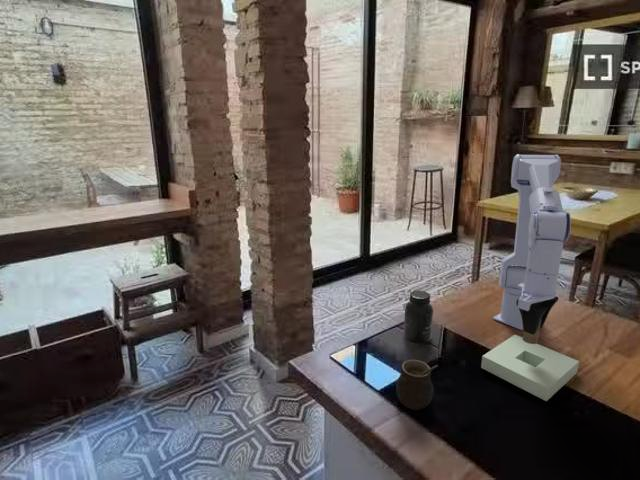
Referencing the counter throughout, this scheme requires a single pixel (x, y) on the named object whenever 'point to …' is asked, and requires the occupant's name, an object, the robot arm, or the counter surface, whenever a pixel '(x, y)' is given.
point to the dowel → (531, 336)
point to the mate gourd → (415, 384)
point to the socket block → (530, 366)
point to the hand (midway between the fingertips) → (532, 329)
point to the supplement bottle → (418, 318)
